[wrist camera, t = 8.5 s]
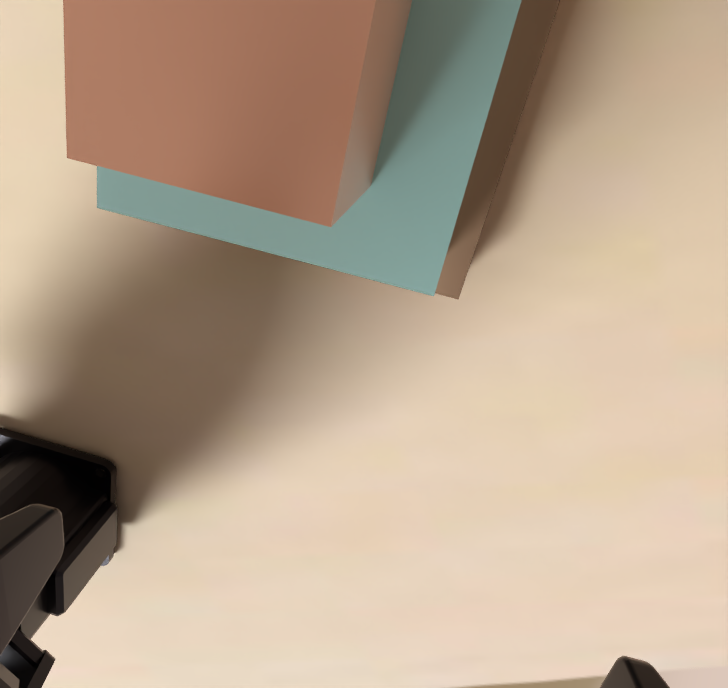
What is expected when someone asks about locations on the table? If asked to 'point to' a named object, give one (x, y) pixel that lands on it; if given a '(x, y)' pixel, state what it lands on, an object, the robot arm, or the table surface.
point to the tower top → (393, 166)
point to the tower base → (497, 138)
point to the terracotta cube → (235, 95)
